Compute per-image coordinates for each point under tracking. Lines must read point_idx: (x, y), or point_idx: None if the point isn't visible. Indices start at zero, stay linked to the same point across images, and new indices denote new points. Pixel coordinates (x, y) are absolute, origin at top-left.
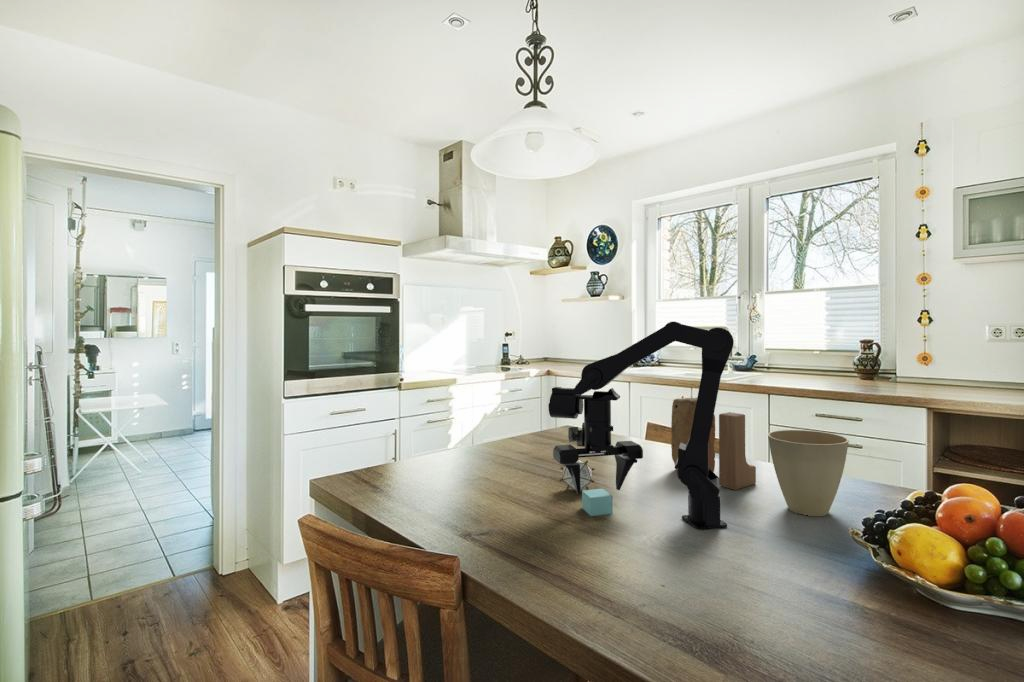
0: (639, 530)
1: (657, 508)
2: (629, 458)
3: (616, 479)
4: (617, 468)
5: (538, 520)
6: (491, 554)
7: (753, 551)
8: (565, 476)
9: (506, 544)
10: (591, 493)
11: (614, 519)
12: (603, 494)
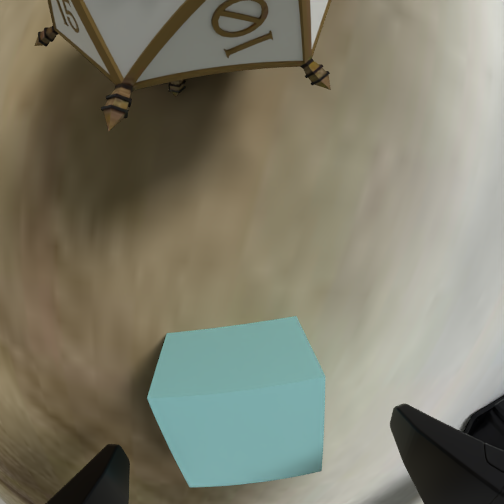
0: (324, 493)
1: (478, 343)
2: None
3: (425, 445)
4: (474, 496)
5: (15, 410)
6: (7, 490)
7: None
8: (60, 24)
9: (9, 478)
10: (208, 448)
11: None
12: (280, 461)
